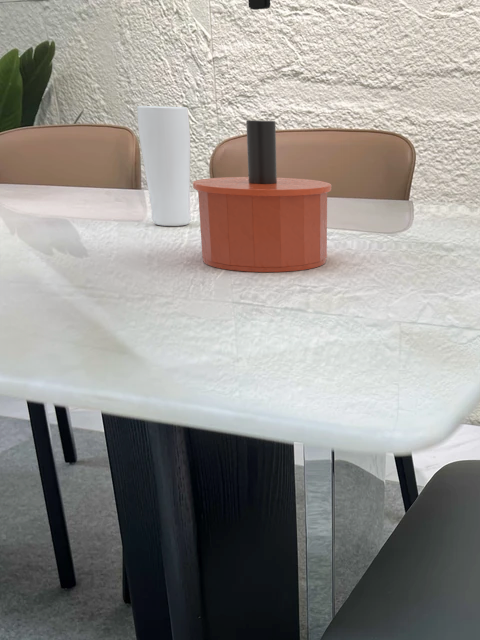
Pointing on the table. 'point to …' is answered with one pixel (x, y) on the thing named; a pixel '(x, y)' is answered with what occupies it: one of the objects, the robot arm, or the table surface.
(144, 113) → the drinking glass
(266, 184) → the lid
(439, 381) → the table surface
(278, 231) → the pot
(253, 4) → the robot arm
